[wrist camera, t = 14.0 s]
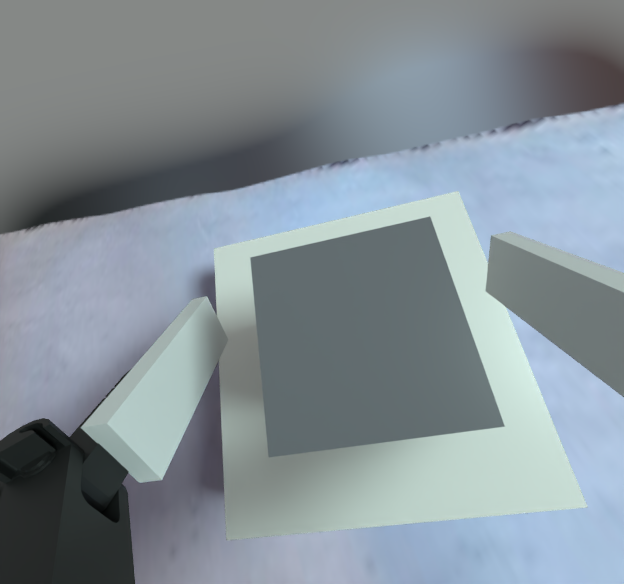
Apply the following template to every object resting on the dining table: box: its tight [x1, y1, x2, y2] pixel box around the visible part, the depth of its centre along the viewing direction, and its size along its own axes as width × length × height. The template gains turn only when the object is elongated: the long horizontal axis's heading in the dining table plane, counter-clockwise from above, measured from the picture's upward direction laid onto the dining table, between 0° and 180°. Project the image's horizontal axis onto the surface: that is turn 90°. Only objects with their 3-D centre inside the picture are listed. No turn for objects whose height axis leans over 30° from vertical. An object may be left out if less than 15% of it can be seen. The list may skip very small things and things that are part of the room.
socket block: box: [214, 191, 587, 540], centre depth 16 cm, size 16×16×4 cm
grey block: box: [250, 217, 505, 457], centre depth 12 cm, size 5×5×12 cm
